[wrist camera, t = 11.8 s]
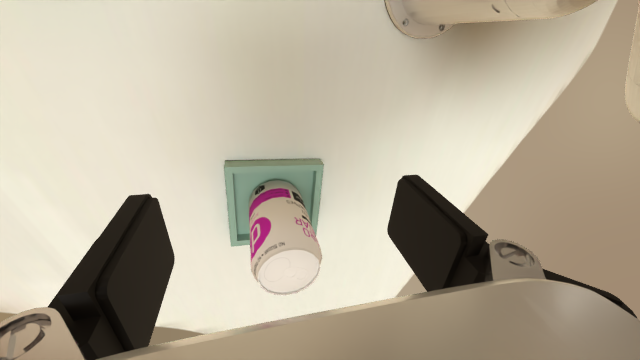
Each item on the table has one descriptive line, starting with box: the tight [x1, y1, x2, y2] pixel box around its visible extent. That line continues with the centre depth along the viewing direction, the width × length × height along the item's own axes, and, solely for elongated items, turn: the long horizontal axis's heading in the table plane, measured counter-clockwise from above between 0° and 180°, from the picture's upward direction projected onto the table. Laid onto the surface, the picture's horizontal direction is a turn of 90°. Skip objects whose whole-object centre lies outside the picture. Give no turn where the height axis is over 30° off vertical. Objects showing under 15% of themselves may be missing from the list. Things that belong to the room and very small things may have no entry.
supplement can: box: [249, 180, 322, 295], centre depth 35 cm, size 8×8×15 cm
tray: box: [224, 159, 324, 246], centre depth 41 cm, size 14×14×2 cm
